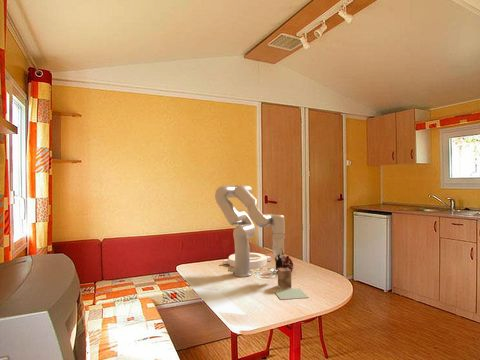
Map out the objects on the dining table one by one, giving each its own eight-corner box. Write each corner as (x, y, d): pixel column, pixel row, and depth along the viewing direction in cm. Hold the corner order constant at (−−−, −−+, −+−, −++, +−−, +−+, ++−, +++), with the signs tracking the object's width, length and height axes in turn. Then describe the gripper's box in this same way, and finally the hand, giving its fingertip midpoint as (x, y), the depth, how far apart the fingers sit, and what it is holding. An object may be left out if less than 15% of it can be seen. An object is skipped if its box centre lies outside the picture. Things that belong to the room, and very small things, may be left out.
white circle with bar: (272, 261, 223) (272, 255, 223) (255, 271, 198) (255, 264, 199) (240, 257, 237) (240, 251, 237) (221, 265, 213) (221, 259, 213)
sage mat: (280, 299, 148) (280, 299, 148) (273, 290, 161) (273, 290, 161) (308, 297, 150) (308, 297, 150) (299, 288, 163) (299, 288, 163)
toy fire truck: (295, 272, 193) (295, 256, 193) (277, 274, 190) (276, 257, 190) (291, 269, 200) (291, 254, 200) (273, 271, 197) (273, 255, 197)
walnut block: (280, 289, 163) (280, 271, 163) (277, 285, 169) (277, 268, 169) (291, 288, 163) (291, 270, 164) (288, 285, 169) (287, 267, 170)
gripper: (269, 233, 184) (269, 263, 184) (275, 238, 169) (276, 270, 169) (281, 233, 185) (281, 262, 185) (288, 237, 170) (289, 269, 170)
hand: (279, 266), depth 177 cm, fingers closed
